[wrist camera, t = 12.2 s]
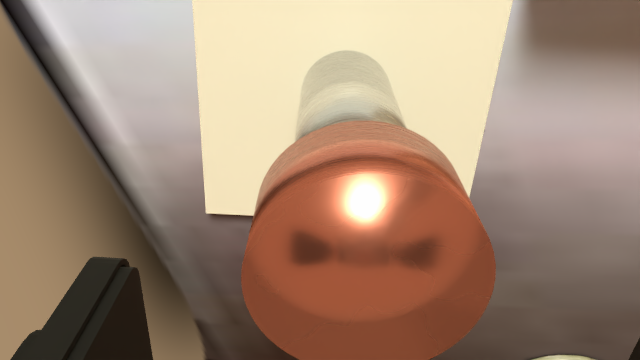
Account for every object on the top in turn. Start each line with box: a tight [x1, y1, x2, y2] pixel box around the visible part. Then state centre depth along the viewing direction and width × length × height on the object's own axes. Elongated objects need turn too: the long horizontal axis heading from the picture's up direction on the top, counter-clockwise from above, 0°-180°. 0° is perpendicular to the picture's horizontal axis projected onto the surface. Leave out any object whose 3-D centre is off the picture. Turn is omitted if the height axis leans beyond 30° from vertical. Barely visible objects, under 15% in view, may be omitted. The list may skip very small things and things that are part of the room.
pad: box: [192, 0, 513, 216], centre depth 23 cm, size 13×13×1 cm
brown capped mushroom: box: [241, 50, 496, 360], centre depth 17 cm, size 6×6×13 cm
